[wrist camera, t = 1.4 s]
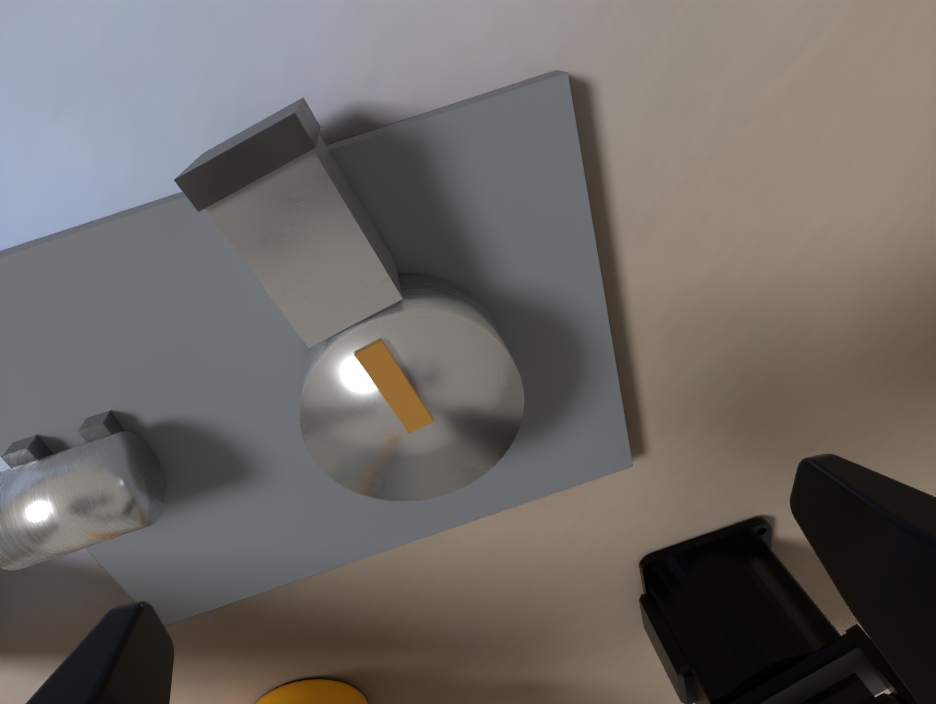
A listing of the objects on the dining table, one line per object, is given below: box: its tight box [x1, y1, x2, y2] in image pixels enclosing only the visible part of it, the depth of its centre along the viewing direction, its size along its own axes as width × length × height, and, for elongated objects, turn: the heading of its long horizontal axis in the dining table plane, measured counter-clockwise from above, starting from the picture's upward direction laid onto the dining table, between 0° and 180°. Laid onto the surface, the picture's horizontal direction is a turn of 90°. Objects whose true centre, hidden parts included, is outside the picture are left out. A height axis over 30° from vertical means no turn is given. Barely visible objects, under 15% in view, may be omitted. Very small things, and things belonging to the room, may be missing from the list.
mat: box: [0, 70, 633, 626], centre depth 20 cm, size 20×15×1 cm
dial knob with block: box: [174, 98, 524, 501], centre depth 17 cm, size 12×6×3 cm, turn 25°
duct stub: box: [0, 410, 167, 571], centre depth 18 cm, size 4×3×3 cm
